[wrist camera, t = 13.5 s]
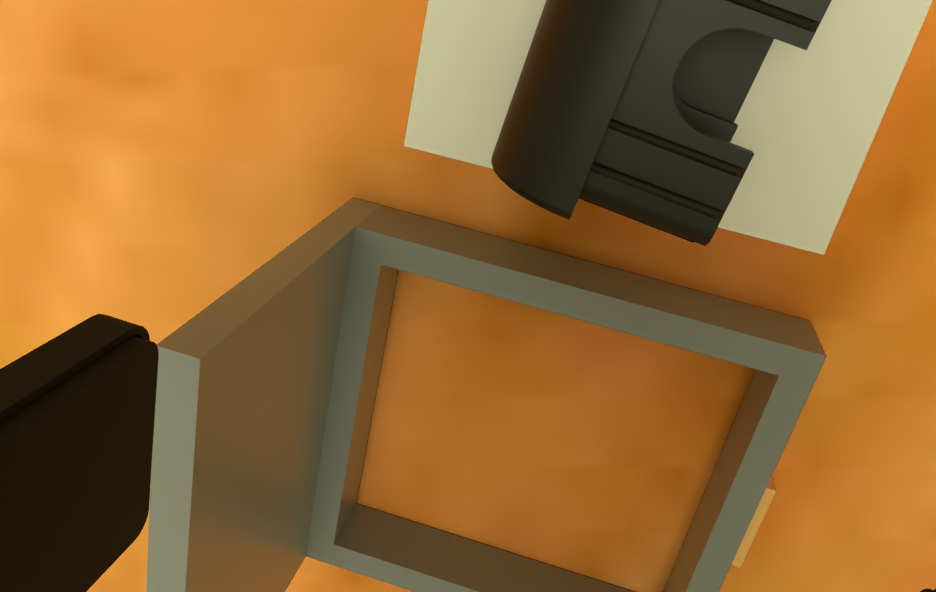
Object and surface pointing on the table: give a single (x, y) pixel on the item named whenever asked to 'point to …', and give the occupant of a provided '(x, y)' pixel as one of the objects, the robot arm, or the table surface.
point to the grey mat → (759, 121)
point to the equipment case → (352, 401)
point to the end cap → (642, 105)
